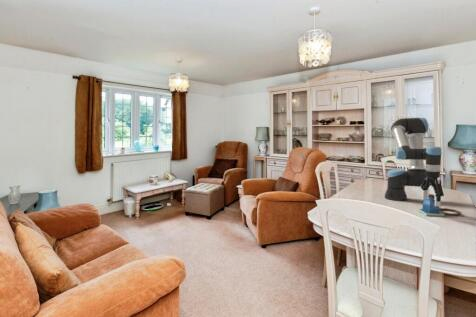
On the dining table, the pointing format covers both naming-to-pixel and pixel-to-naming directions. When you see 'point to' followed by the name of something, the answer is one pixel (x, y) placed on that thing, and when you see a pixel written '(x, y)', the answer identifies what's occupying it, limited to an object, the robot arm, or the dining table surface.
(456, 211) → the ring
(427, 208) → the perfume bottle
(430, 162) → the robot arm
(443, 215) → the tray
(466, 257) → the dining table surface
